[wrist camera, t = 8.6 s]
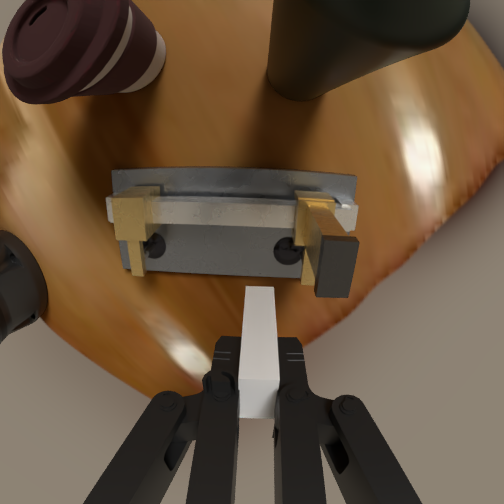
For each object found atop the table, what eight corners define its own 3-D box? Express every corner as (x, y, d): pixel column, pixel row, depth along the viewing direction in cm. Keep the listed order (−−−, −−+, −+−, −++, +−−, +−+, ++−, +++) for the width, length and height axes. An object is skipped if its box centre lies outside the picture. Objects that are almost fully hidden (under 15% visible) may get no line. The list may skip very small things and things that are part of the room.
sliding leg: (287, 262, 29) (299, 344, 18) (293, 187, 26) (316, 236, 15) (316, 264, 29) (343, 344, 18) (325, 190, 26) (368, 239, 15)
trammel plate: (126, 264, 32) (104, 291, 26) (115, 169, 27) (85, 181, 22) (339, 274, 31) (352, 305, 26) (353, 175, 27) (375, 188, 21)
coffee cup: (175, 103, 24) (91, 89, 11) (89, 109, 24) (-19, 118, 11) (186, 12, 20) (124, -62, 7) (98, 25, 20) (4, -10, 7)
